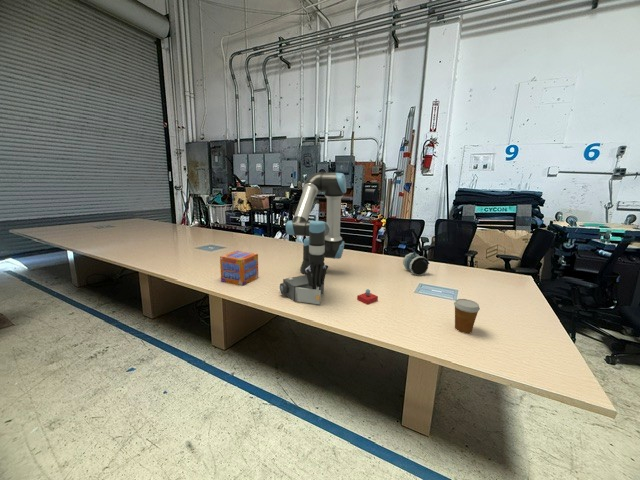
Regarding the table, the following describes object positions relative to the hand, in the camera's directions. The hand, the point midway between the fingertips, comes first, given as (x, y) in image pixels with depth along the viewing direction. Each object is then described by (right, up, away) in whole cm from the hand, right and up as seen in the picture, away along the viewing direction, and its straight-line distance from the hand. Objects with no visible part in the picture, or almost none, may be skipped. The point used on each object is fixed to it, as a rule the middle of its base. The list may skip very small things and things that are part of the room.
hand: (316, 298), depth 140 cm
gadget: (+67, +7, +52) cm, 85 cm away
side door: (-4, -1, -2) cm, 5 cm away
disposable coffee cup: (+62, -9, -22) cm, 67 cm away
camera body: (-8, 0, +9) cm, 12 cm away
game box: (-46, +5, +28) cm, 54 cm away
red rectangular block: (+26, -2, +4) cm, 27 cm away
